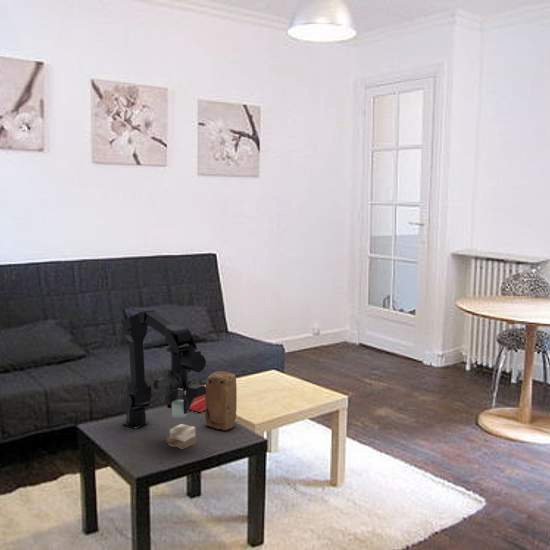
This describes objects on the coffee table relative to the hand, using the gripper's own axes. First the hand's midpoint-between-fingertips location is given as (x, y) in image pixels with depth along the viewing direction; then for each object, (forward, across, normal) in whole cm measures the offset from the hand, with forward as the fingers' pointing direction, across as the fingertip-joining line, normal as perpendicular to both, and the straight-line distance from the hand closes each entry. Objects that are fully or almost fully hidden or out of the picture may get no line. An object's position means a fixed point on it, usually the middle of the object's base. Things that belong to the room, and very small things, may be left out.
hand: (179, 412), depth 213 cm
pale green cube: (+1, 0, 0) cm, 1 cm away
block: (+12, 0, +21) cm, 24 cm away
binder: (+12, -23, +36) cm, 45 cm away
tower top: (+9, 0, +1) cm, 9 cm away
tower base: (+12, 0, +1) cm, 12 cm away
